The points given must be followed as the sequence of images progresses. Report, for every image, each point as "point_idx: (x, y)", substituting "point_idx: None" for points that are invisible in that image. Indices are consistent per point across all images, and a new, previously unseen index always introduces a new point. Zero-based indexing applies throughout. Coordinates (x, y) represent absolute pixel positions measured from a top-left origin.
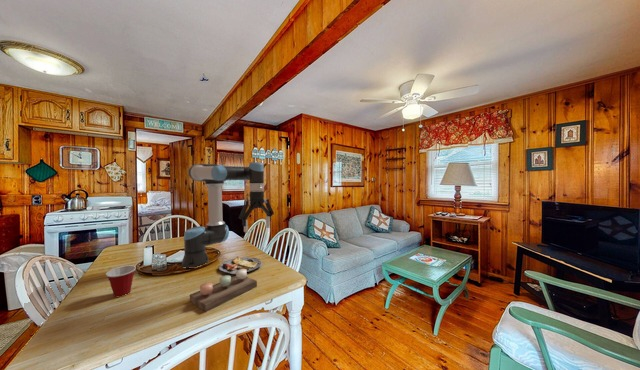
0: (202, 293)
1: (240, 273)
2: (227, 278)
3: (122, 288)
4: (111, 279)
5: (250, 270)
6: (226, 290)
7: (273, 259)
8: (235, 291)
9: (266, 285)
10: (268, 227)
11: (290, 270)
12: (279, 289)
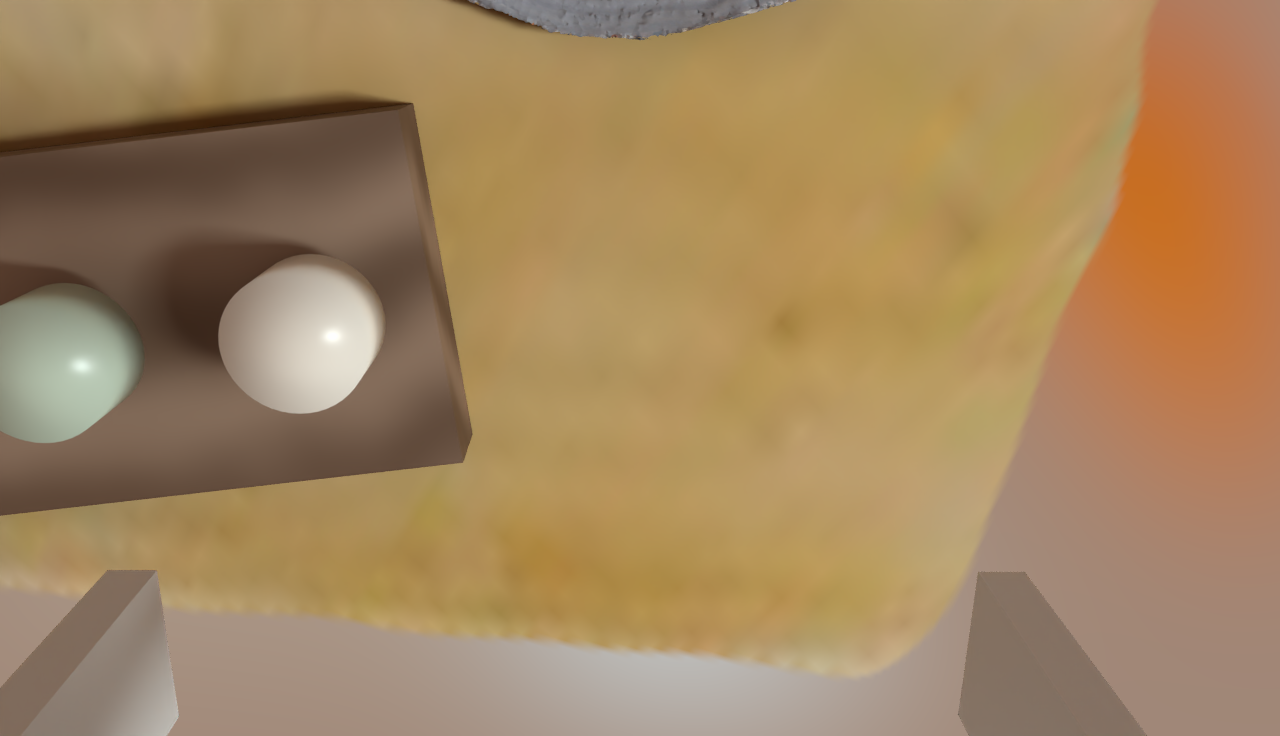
0: None
1: (253, 397)
2: (51, 418)
3: None
4: None
5: (619, 17)
6: None
7: None
8: (167, 494)
9: (566, 486)
10: (967, 709)
11: (1030, 381)
12: (611, 647)
